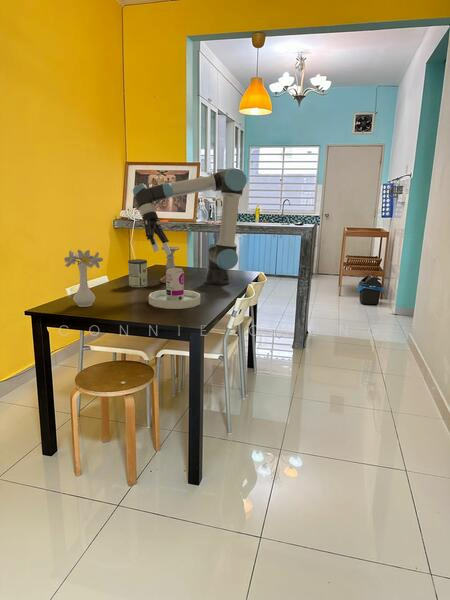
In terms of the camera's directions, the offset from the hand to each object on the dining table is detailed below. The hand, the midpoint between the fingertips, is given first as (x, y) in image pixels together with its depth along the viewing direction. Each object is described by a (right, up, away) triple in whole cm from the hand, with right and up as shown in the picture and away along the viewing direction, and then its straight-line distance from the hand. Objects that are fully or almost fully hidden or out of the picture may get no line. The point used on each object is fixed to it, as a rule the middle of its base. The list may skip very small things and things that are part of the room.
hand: (163, 252), depth 204 cm
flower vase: (-33, -26, -19) cm, 46 cm away
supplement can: (+7, -24, -9) cm, 26 cm away
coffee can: (-18, -16, +26) cm, 35 cm away
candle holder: (-2, -13, +39) cm, 41 cm away
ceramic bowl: (+7, -25, -9) cm, 27 cm away
